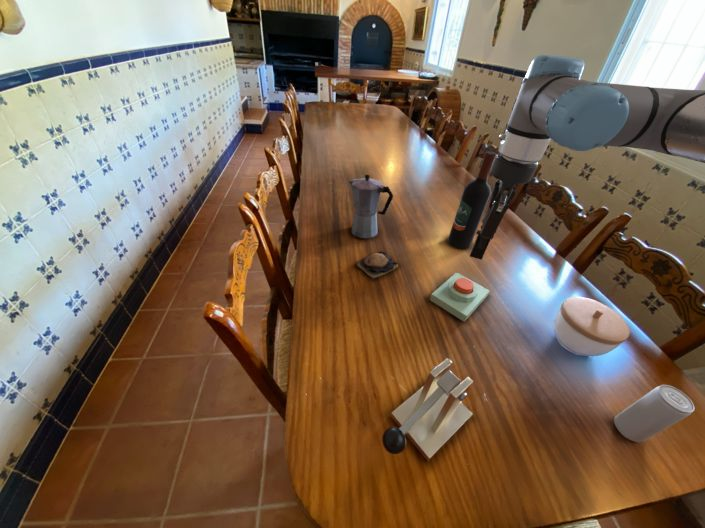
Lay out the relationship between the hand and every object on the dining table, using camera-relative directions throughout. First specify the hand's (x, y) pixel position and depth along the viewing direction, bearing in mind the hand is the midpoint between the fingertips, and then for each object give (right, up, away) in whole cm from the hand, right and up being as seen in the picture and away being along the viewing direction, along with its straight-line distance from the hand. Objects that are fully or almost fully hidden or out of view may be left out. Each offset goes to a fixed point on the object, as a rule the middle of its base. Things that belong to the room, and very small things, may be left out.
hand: (476, 256), depth 70 cm
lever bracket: (-15, -30, -16) cm, 37 cm away
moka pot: (-25, +9, +31) cm, 40 cm away
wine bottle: (+7, +5, +30) cm, 31 cm away
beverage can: (+22, -33, -15) cm, 42 cm away
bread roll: (-22, -3, +17) cm, 28 cm away
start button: (-1, -8, +7) cm, 11 cm away
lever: (-18, -26, -23) cm, 39 cm away
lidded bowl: (+23, -21, 0) cm, 31 cm away
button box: (-1, -11, +9) cm, 14 cm away
